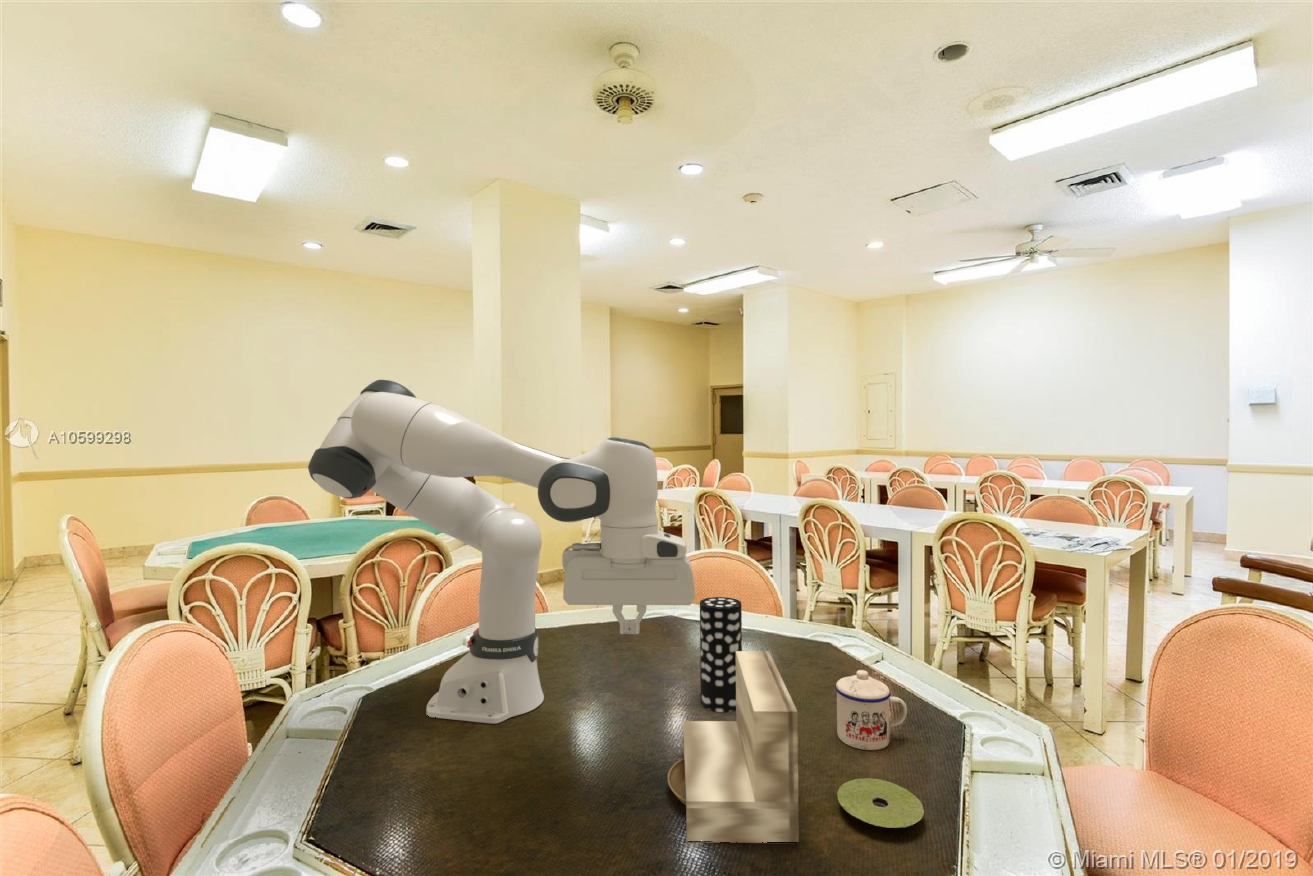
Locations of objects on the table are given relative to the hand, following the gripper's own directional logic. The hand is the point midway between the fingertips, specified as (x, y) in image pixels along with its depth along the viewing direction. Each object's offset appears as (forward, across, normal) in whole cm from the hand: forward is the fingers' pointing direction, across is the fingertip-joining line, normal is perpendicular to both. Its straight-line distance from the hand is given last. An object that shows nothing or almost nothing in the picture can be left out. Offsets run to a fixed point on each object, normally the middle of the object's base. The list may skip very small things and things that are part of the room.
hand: (629, 633), depth 90 cm
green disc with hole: (+23, +35, -7) cm, 43 cm away
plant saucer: (+23, +13, -3) cm, 27 cm away
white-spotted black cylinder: (+23, +16, +28) cm, 39 cm away
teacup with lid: (+23, +41, +14) cm, 49 cm away
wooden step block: (+23, +15, -2) cm, 27 cm away
